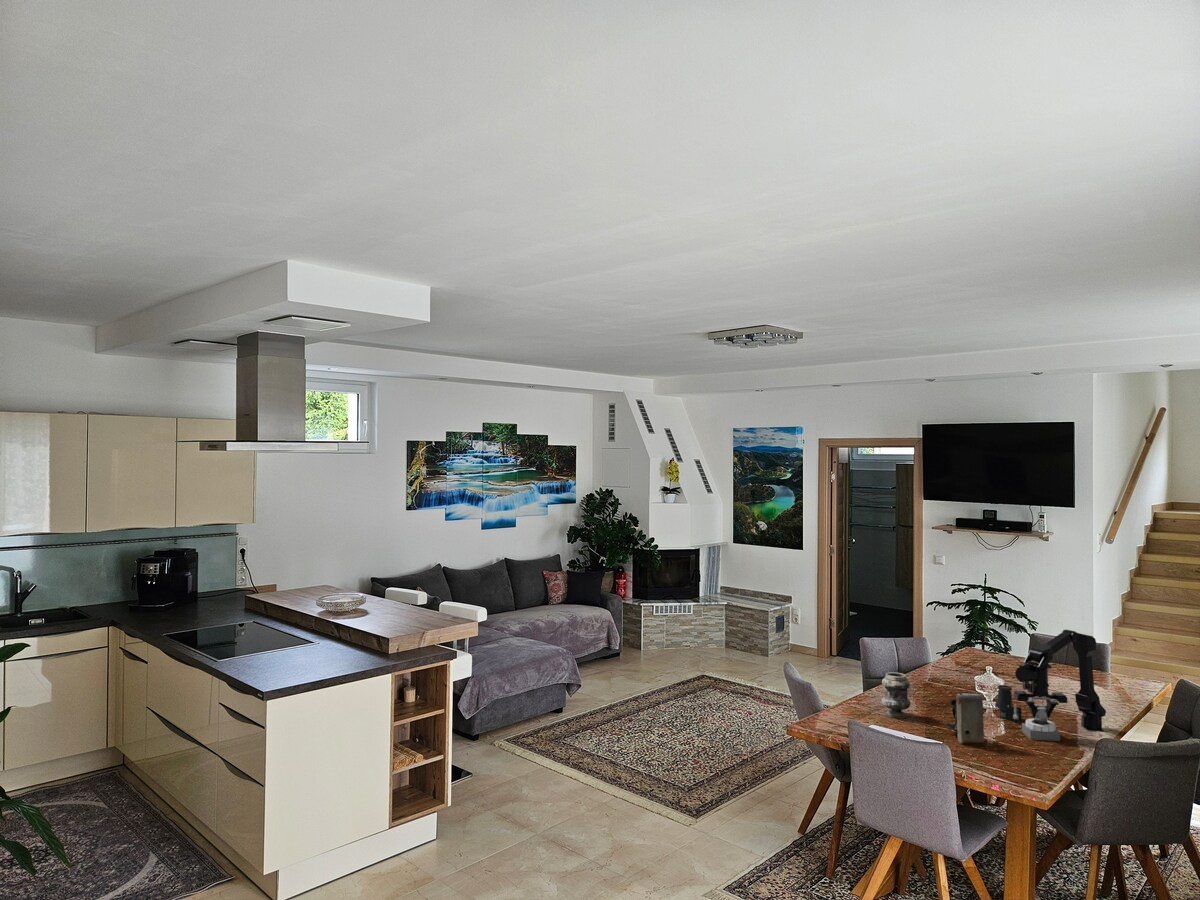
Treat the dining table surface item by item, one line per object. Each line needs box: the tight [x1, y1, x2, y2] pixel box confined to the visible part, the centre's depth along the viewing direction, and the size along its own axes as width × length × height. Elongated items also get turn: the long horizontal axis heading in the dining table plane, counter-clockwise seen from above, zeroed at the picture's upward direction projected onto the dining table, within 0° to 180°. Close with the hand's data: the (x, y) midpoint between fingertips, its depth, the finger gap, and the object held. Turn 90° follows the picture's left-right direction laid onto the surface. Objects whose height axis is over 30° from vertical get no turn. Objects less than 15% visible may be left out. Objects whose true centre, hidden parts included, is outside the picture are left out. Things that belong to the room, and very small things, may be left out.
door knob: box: [1034, 703, 1049, 725], centre depth 323 cm, size 5×5×7 cm
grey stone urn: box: [881, 671, 912, 719], centre depth 351 cm, size 12×12×18 cm
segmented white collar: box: [1021, 717, 1061, 742], centre depth 323 cm, size 11×10×6 cm
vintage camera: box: [944, 692, 985, 745], centre depth 321 cm, size 10×15×20 cm, turn 2°
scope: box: [994, 684, 1023, 724], centre depth 345 cm, size 8×14×10 cm
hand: (1040, 717), depth 323 cm, fingers closed on door knob, 5 cm apart
